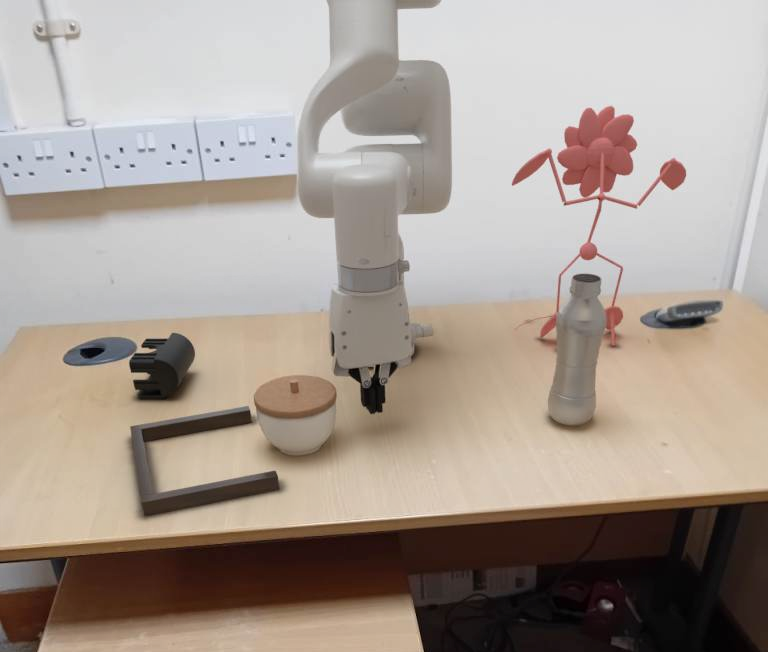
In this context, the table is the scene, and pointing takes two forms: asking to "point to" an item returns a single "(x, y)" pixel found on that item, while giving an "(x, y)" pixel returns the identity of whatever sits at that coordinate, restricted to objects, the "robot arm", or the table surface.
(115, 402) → the table surface
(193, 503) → the frame
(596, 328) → the plastic bottle
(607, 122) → the figurine
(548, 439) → the table surface
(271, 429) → the trinket box
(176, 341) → the end cap
